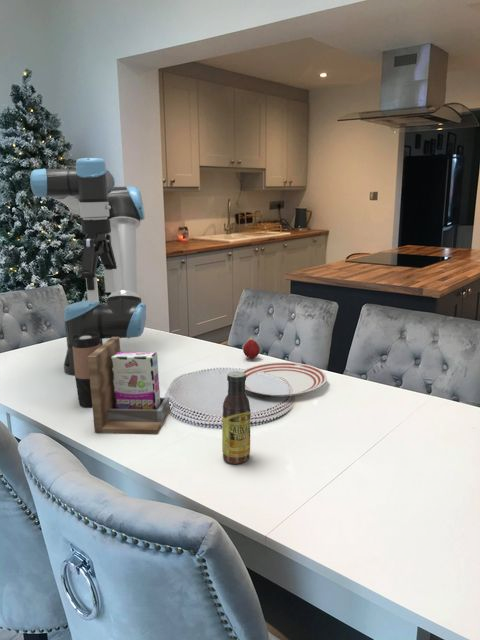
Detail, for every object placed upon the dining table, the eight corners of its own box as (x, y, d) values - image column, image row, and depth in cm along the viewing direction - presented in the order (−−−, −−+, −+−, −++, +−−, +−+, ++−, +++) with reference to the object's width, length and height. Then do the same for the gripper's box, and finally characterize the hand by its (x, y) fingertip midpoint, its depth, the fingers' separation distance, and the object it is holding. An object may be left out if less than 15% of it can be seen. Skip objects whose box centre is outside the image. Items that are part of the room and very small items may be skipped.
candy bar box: (161, 409, 142) (157, 351, 138) (156, 417, 137) (152, 357, 134) (121, 408, 144) (117, 350, 140) (115, 416, 139) (110, 356, 135)
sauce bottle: (230, 468, 114) (227, 381, 109) (217, 455, 119) (214, 372, 114) (256, 460, 116) (255, 375, 112) (243, 449, 122) (241, 367, 117)
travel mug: (98, 409, 147) (91, 340, 142) (73, 407, 148) (65, 339, 143) (110, 398, 154) (104, 332, 149) (86, 397, 155) (79, 331, 151)
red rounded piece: (262, 358, 187) (262, 337, 185) (254, 363, 183) (254, 341, 181) (248, 356, 190) (248, 335, 188) (240, 360, 186) (239, 338, 184)
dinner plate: (282, 411, 143) (282, 400, 142) (218, 385, 163) (218, 375, 162) (345, 386, 160) (345, 375, 159) (280, 365, 180) (280, 356, 179)
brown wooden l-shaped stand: (117, 404, 149) (112, 336, 145) (173, 405, 148) (169, 337, 143) (94, 432, 132) (87, 356, 127) (157, 434, 130) (152, 357, 126)
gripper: (92, 221, 128) (99, 306, 133) (123, 216, 152) (129, 288, 157) (62, 221, 129) (71, 306, 134) (98, 216, 153) (104, 288, 158)
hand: (102, 296), depth 145 cm, fingers open, 13 cm apart
